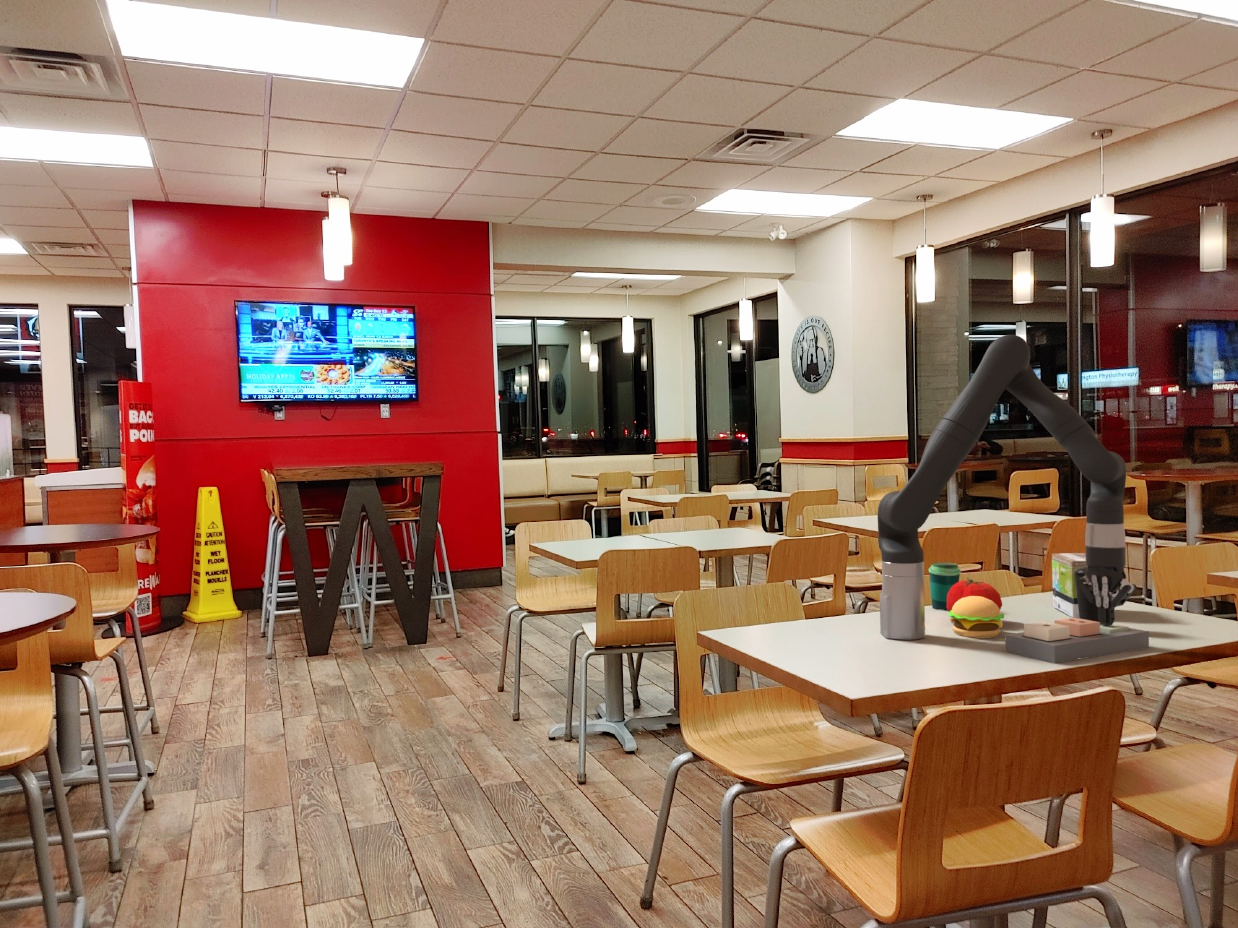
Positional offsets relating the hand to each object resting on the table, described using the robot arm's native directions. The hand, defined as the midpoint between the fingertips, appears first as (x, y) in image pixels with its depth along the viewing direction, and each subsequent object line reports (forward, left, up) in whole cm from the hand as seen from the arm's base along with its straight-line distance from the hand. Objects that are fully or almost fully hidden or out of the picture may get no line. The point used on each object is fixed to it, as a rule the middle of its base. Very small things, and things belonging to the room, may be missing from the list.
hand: (1106, 624), depth 189 cm
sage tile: (0, 0, -3) cm, 3 cm away
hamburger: (-23, +13, -5) cm, 27 cm away
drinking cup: (+5, +17, -5) cm, 18 cm away
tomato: (-19, +26, -5) cm, 32 cm away
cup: (-20, +45, -5) cm, 49 cm away
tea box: (+12, +37, -5) cm, 39 cm away
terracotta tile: (-8, -4, -1) cm, 9 cm away
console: (-8, -4, -4) cm, 10 cm away
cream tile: (-16, -8, -1) cm, 18 cm away
